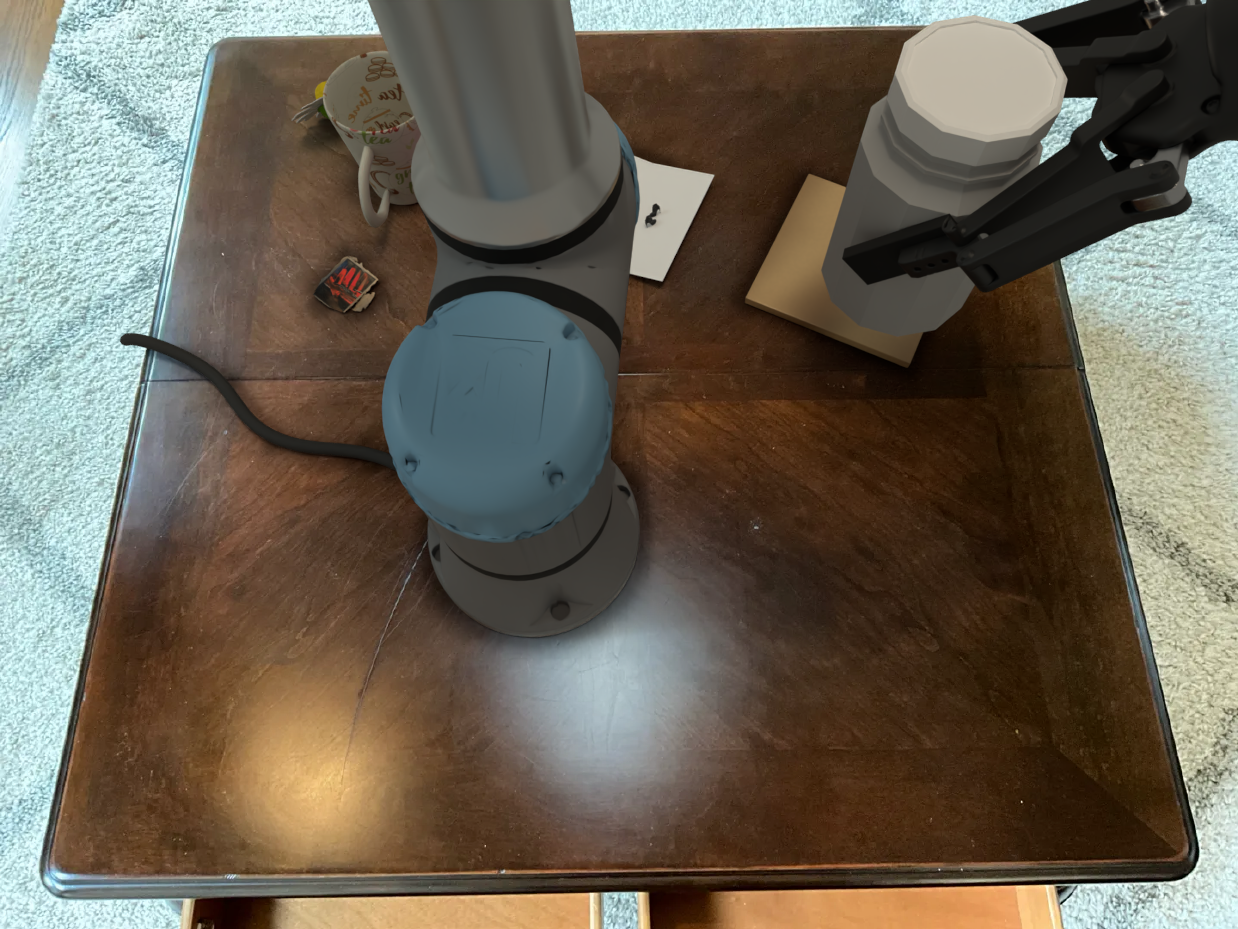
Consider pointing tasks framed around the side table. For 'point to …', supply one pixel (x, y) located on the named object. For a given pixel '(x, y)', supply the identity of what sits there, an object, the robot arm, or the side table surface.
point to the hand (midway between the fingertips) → (871, 198)
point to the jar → (941, 157)
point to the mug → (374, 129)
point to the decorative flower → (313, 106)
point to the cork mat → (816, 276)
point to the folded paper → (664, 215)
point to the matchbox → (346, 286)
